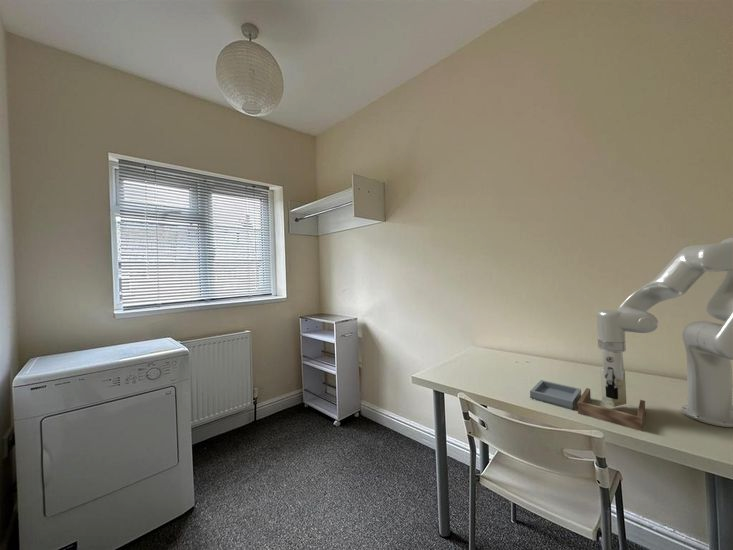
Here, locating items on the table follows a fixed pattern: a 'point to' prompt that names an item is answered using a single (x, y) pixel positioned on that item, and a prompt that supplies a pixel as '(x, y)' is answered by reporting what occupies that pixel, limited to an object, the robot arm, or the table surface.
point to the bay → (611, 413)
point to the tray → (556, 394)
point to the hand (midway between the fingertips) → (613, 393)
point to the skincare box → (621, 391)
